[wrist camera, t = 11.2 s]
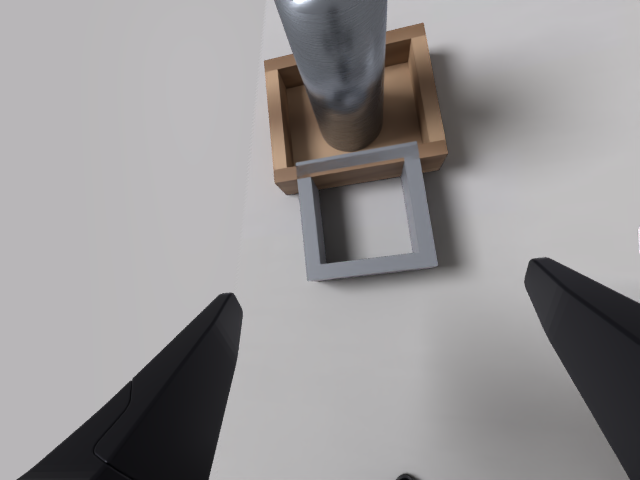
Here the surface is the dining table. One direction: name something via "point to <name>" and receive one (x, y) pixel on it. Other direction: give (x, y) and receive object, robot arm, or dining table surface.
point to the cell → (340, 64)
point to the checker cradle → (415, 211)
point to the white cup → (639, 237)
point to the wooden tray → (398, 124)
